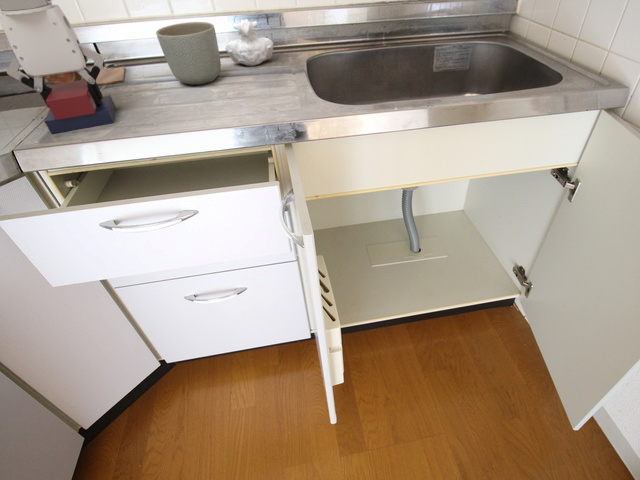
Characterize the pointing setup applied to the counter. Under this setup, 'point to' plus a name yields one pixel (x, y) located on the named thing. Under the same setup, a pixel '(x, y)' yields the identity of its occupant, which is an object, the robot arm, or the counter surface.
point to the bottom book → (83, 118)
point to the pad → (110, 76)
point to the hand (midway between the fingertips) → (78, 106)
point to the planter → (191, 51)
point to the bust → (249, 45)
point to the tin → (63, 78)
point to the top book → (71, 100)
